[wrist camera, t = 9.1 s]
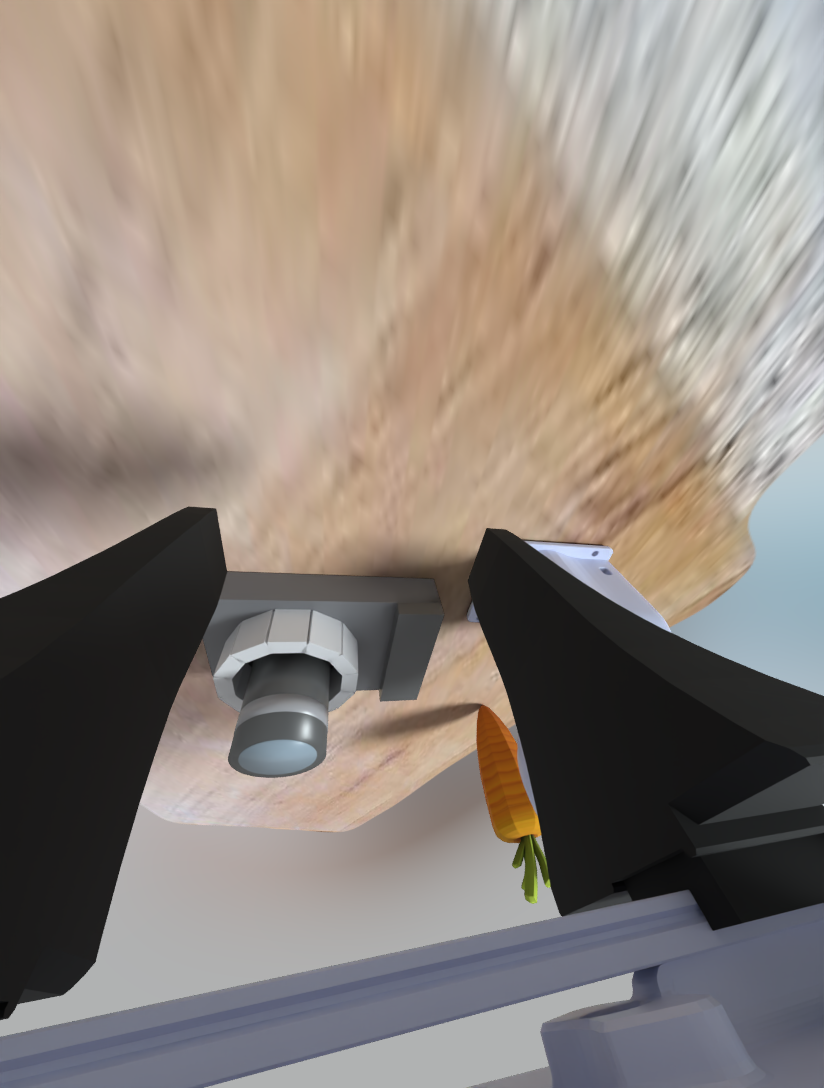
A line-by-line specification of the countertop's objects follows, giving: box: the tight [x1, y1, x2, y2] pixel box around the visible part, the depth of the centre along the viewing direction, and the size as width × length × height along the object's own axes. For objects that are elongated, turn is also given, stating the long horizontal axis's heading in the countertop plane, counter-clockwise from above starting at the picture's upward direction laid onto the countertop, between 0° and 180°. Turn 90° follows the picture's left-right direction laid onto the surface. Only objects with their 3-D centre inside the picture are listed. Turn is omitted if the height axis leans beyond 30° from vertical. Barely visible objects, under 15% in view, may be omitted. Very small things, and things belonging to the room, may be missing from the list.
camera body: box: [203, 572, 444, 713], centre depth 24 cm, size 15×10×5 cm, turn 80°
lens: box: [228, 653, 331, 778], centre depth 21 cm, size 5×5×7 cm
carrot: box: [477, 705, 551, 904], centre depth 31 cm, size 5×5×15 cm
